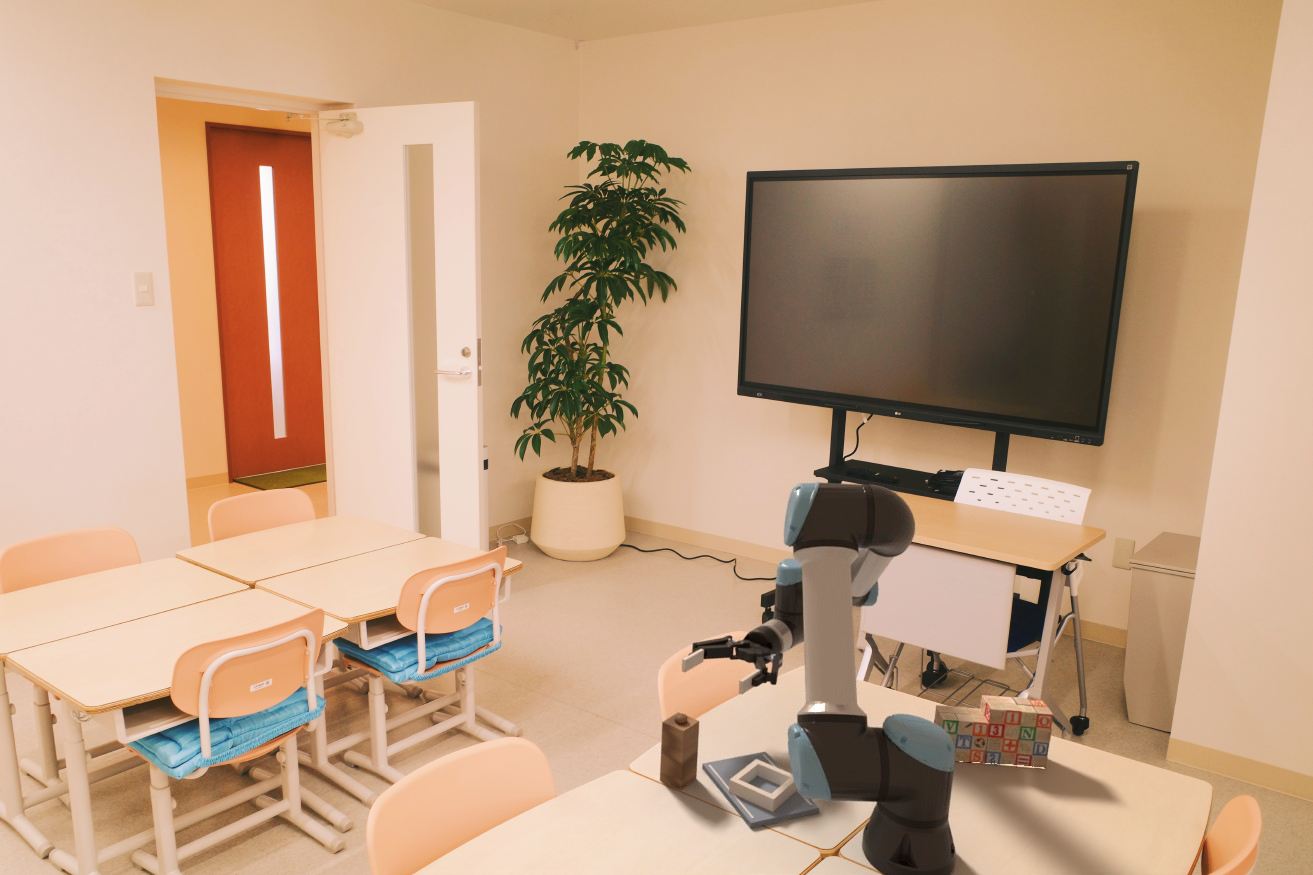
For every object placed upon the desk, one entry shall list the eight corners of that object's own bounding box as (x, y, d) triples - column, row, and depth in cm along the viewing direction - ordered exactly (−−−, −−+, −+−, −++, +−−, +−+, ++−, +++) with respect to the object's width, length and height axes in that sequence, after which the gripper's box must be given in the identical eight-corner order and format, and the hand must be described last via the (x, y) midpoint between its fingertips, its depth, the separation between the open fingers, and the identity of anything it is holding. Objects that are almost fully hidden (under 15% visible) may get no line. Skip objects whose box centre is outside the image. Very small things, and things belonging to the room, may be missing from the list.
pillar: (696, 778, 169) (699, 715, 167) (680, 789, 166) (684, 725, 163) (675, 768, 172) (678, 707, 170) (659, 779, 169) (662, 716, 166)
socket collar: (798, 789, 165) (799, 776, 165) (772, 811, 158) (773, 799, 158) (755, 770, 171) (756, 758, 171) (728, 791, 164) (729, 779, 163)
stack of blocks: (937, 761, 179) (943, 705, 177) (931, 745, 185) (936, 690, 183) (1046, 770, 177) (1054, 713, 175) (1036, 753, 183) (1043, 698, 181)
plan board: (818, 812, 160) (819, 806, 160) (750, 827, 155) (750, 822, 155) (765, 755, 178) (765, 750, 178) (702, 768, 173) (702, 762, 173)
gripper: (817, 676, 184) (764, 715, 167) (718, 641, 199) (660, 674, 182) (820, 642, 182) (767, 678, 166) (720, 610, 197) (662, 640, 181)
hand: (711, 676), depth 174 cm, fingers open, 13 cm apart
